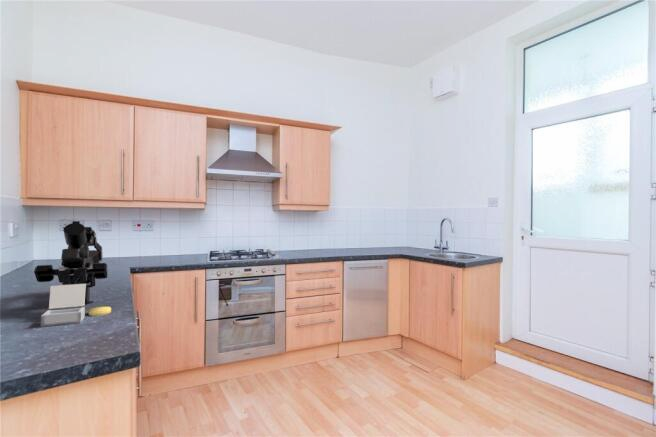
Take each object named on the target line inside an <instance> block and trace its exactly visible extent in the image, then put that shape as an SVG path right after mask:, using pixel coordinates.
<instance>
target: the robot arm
mask: <svg viewBox="0 0 656 437" xmlns="http://www.w3.org/2000/svg"><path fill="white" fill-rule="evenodd" d="M62 231H63V235H64V239H65V243H66V246H67V248H63V249H62V250H61V256H60V260H61V263H60V264H61V266H59V267H58V269H57V268H56V269H55V268H53V264H38V265H36V266H35V267H34V271H33V273H34V276H35V279H36V282H38V283H50V282H52V281H53V280H54V279H55V277H57V278H58V282H59V283H61V284H62V285H74V284H86V289H85V305H84V306H86V305H89V304H92V303H94V300H90V288H93V287H96V280H103V279H104V280H105V279H107V278H108V275H109V271H108V270H109V269H108V264H107V263H106V262H102V261H103V247H102V245H100V244H99V242H97V241H98V240H97V239H98V238H97V236H96V235H97V234H96V232H95V229H93V228H92V226H85V225H83V223H81V221H79V220H73V221H72V223H69V224H66V225H65V226H64V227H63V230H62ZM90 247H94V249H95V250H94V249H93V250H92V249H91V250H90ZM77 307H78V308H81V306H77Z"/></svg>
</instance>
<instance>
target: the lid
mask: <svg viewBox="0 0 656 437" xmlns="http://www.w3.org/2000/svg"><path fill="white" fill-rule="evenodd" d="M85 289H86V284H74V285H63V284H61V285H60V284H59V285H51V286H50V290H49V302H48V303H49V304H48V310H52V309H54V310H55V309H64V308H73V307H74V308H76V307H77V306H80V307H85V306H86V305H85Z"/></svg>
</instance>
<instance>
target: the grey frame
mask: <svg viewBox="0 0 656 437" xmlns="http://www.w3.org/2000/svg"><path fill="white" fill-rule="evenodd" d="M85 311H86V307H85V306H80V307H78V308H76V307H74V308H68V309H67V308H66V309H64V308H63V309H56V310H55V309H54V310H52V309H48V310H46V311H45V312H44V313H43V314H41V316H40V328H45V327H53V326H54V327H55V326H61V325H62V326H63V325H64V326H65V325H72V324H73V325H74V324H80V323H82V321H83V320H84V319H85V317H86V316H85V314H86V312H85Z"/></svg>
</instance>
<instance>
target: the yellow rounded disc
mask: <svg viewBox="0 0 656 437" xmlns="http://www.w3.org/2000/svg"><path fill="white" fill-rule="evenodd" d="M111 313H112V307H111V306H96V307H93V308H89V309H88V316H90V317H92V316H93V317H97V316H98V317H99V316H104V315H105V316H106V315H108V314H111Z"/></svg>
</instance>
